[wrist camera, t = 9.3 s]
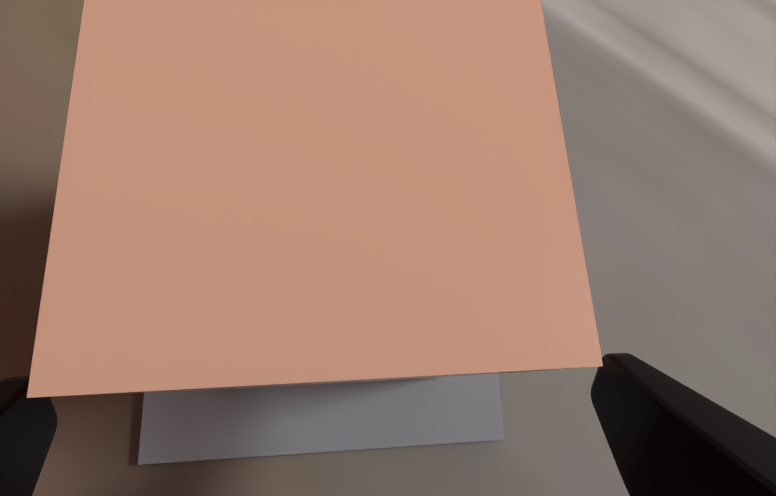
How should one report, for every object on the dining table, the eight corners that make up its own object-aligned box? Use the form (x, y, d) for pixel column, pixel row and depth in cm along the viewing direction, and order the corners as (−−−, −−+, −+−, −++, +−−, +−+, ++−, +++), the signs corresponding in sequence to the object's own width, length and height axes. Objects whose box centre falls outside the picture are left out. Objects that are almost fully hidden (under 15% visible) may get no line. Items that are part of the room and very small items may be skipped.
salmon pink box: (439, 377, 15) (603, 366, 6) (214, 389, 14) (27, 397, 5) (423, 178, 17) (531, -51, 8) (223, 177, 16) (96, -83, 7)
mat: (501, 438, 15) (505, 439, 15) (143, 462, 14) (137, 464, 14) (469, 135, 18) (472, 129, 18) (171, 129, 17) (167, 123, 17)
